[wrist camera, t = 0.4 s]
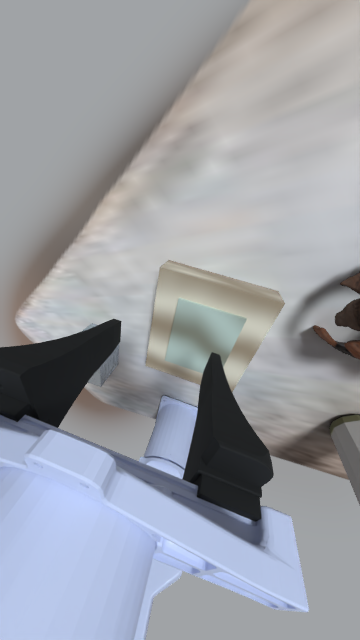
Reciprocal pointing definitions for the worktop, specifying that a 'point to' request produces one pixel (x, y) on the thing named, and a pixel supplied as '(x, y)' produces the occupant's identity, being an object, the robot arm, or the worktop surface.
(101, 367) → the block
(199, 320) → the stand
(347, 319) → the broken clay pot shard
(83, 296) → the worktop surface
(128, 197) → the worktop surface
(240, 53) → the worktop surface
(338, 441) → the bottle
